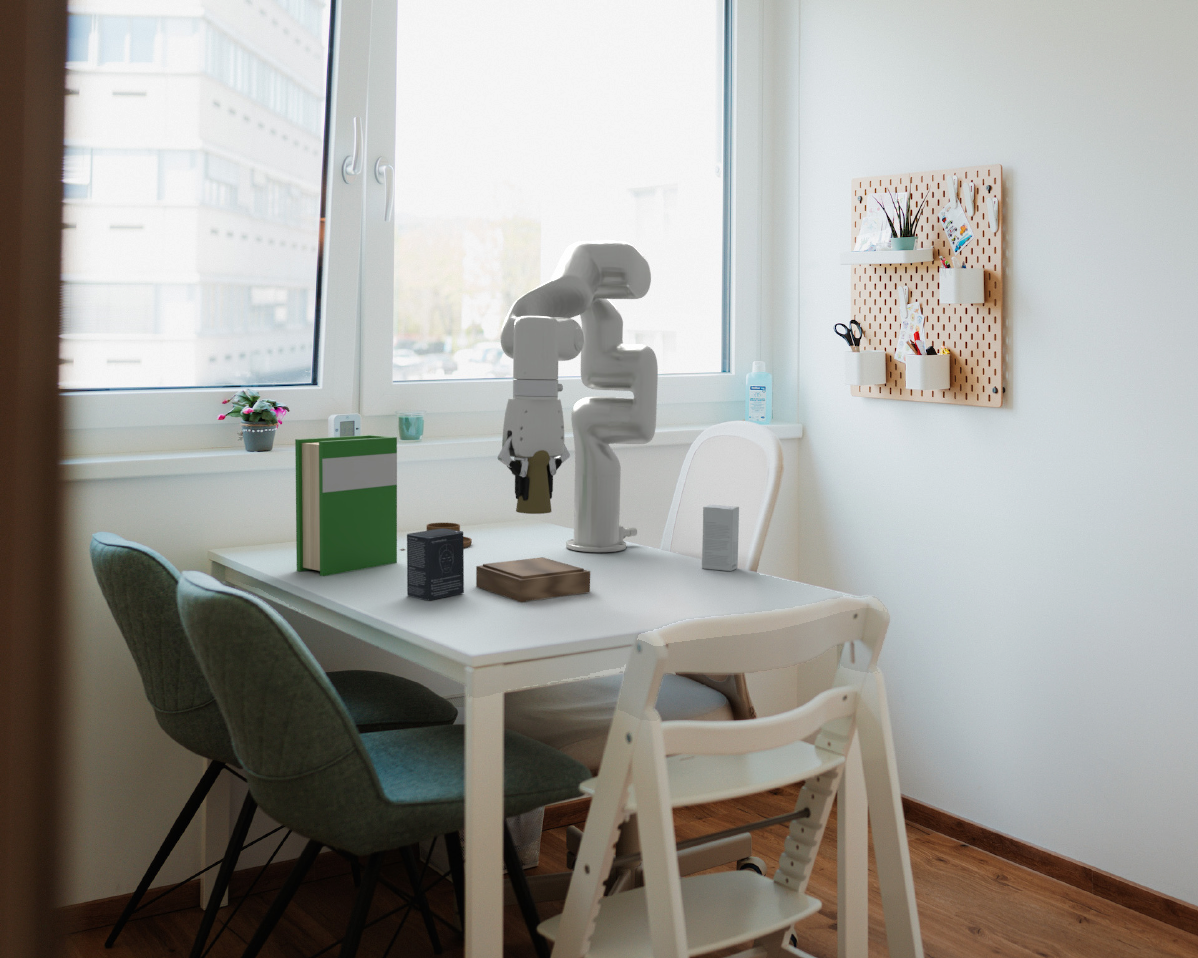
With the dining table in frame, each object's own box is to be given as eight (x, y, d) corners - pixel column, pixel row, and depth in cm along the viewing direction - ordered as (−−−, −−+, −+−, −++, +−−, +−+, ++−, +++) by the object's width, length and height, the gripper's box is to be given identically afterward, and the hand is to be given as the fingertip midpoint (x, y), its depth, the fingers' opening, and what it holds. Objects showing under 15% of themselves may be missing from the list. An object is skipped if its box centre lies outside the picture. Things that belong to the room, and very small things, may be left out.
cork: (546, 514, 180) (547, 448, 179) (511, 512, 181) (512, 447, 180) (555, 509, 186) (556, 446, 185) (521, 508, 187) (522, 444, 186)
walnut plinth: (543, 578, 195) (543, 556, 194) (589, 592, 184) (590, 569, 183) (476, 586, 186) (476, 563, 186) (520, 602, 175) (520, 577, 175)
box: (441, 588, 184) (442, 527, 183) (464, 594, 181) (465, 531, 179) (405, 596, 178) (405, 532, 177) (428, 601, 175) (428, 536, 173)
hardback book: (323, 576, 193) (322, 441, 190) (296, 570, 197) (295, 439, 194) (396, 562, 207) (396, 437, 204) (370, 557, 211) (370, 435, 209)
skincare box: (738, 568, 208) (740, 506, 207) (731, 571, 204) (733, 509, 203) (708, 565, 211) (710, 504, 209) (700, 568, 207) (702, 506, 205)
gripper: (563, 389, 189) (561, 493, 191) (480, 389, 179) (479, 499, 181) (588, 391, 183) (586, 498, 185) (505, 391, 173) (503, 504, 175)
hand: (533, 497), depth 183 cm, fingers closed on cork, 4 cm apart
